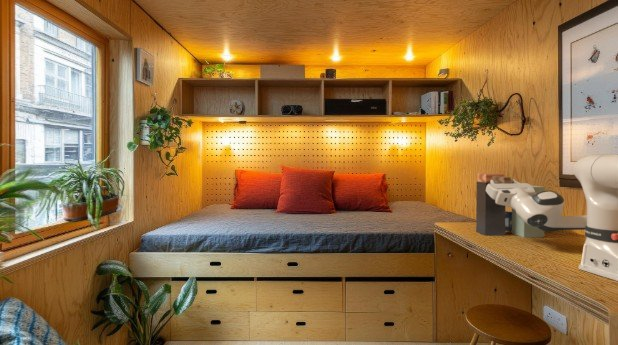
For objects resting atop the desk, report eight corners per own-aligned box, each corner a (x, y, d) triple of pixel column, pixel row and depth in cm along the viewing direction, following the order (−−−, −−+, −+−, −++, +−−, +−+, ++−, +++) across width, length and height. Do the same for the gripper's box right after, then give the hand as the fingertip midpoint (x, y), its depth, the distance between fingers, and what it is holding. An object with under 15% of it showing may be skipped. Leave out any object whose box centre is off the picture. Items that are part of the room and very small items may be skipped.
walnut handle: (516, 183, 163) (517, 175, 163) (497, 184, 162) (498, 175, 162) (494, 181, 181) (494, 173, 181) (477, 181, 180) (477, 173, 180)
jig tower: (505, 235, 173) (505, 182, 172) (485, 235, 173) (485, 182, 172) (495, 231, 182) (495, 181, 181) (476, 231, 181) (476, 181, 180)
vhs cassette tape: (481, 228, 191) (481, 209, 191) (483, 227, 193) (483, 209, 193) (520, 232, 178) (520, 213, 178) (521, 232, 181) (521, 212, 180)
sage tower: (544, 237, 168) (545, 186, 167) (523, 237, 167) (524, 187, 167) (530, 232, 177) (531, 185, 176) (511, 233, 177) (512, 185, 176)
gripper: (542, 191, 155) (525, 174, 166) (497, 192, 154) (482, 175, 165) (537, 203, 158) (520, 185, 170) (493, 204, 157) (479, 186, 169)
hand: (501, 180), depth 168 cm, fingers open, 8 cm apart
